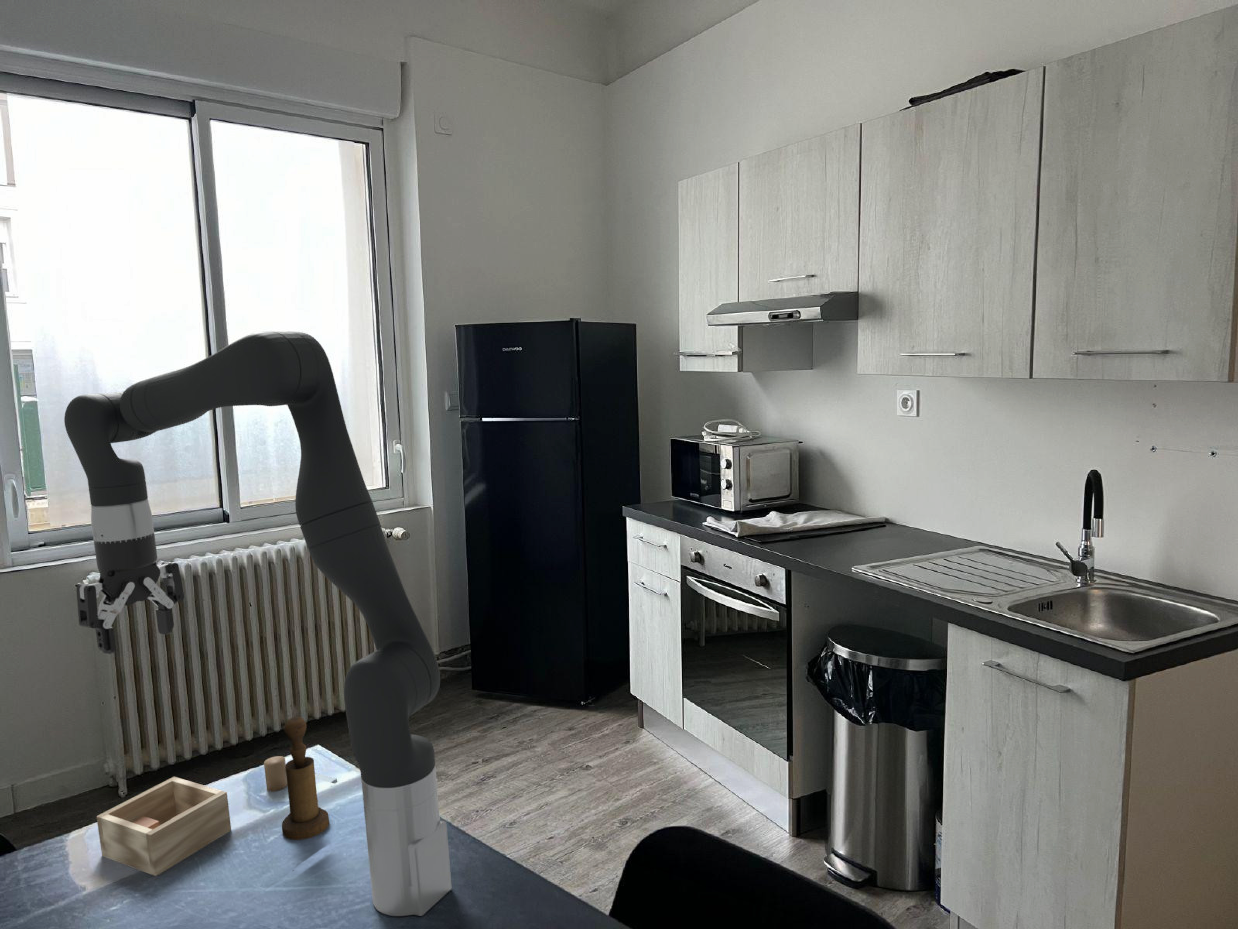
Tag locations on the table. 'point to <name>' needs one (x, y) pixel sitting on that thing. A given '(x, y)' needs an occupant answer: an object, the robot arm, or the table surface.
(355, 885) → the table surface
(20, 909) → the table surface
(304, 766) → the mortar and pestle
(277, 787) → the lid
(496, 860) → the table surface
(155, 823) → the block
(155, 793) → the box
